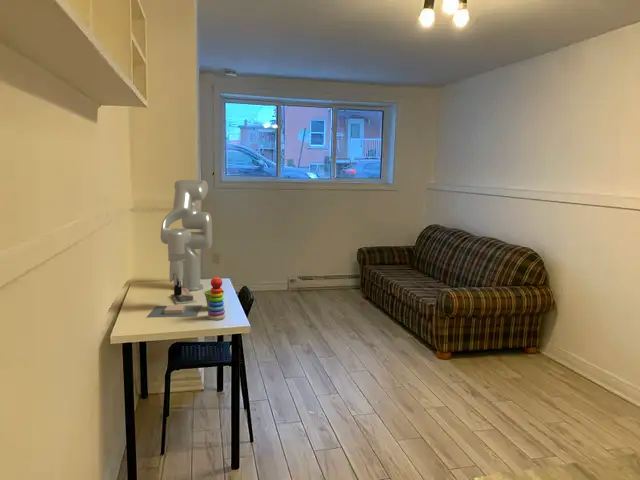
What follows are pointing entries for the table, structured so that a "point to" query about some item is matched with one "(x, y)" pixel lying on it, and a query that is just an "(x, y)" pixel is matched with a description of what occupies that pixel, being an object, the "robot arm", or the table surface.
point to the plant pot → (207, 294)
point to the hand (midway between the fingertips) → (178, 294)
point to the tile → (174, 309)
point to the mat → (189, 312)
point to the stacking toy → (216, 300)
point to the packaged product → (183, 297)
